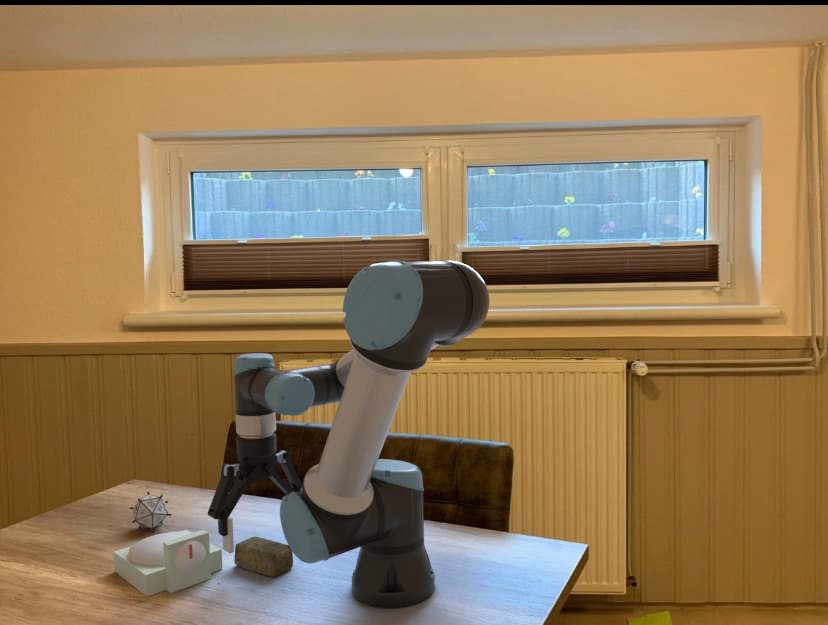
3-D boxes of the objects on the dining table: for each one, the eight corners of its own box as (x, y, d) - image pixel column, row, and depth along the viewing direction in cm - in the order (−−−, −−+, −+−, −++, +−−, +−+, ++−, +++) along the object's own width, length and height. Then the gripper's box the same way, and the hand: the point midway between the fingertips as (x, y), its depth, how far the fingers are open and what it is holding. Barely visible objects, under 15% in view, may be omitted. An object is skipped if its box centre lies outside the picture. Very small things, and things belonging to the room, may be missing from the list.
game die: (161, 542, 156) (185, 508, 155) (130, 542, 149) (155, 506, 148) (146, 515, 161) (169, 482, 160) (115, 514, 154) (139, 479, 153)
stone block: (275, 580, 128) (273, 555, 127) (231, 568, 134) (230, 543, 133) (295, 568, 133) (294, 543, 132) (253, 557, 139) (252, 533, 138)
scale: (229, 573, 131) (227, 527, 130) (153, 601, 120) (150, 552, 120) (186, 547, 143) (184, 506, 143) (114, 571, 133) (112, 526, 132)
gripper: (298, 418, 142) (301, 516, 144) (186, 443, 125) (190, 554, 127) (320, 425, 137) (322, 526, 139) (205, 451, 120) (210, 566, 121)
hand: (259, 540), depth 133 cm, fingers open, 13 cm apart
